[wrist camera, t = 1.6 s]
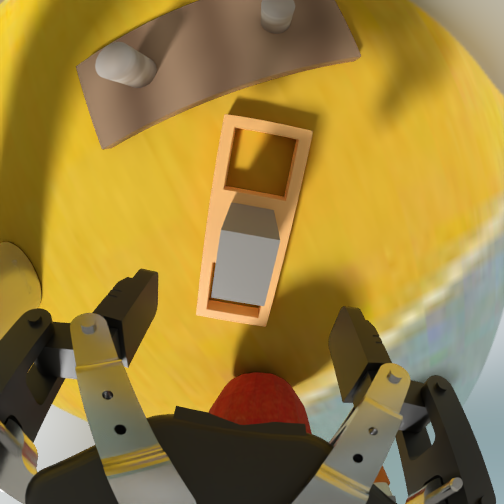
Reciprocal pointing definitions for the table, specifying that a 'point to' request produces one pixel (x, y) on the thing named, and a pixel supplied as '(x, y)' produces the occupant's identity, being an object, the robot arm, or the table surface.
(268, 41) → the pin board
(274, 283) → the hole bar
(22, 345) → the robot arm
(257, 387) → the apple
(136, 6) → the table surface
